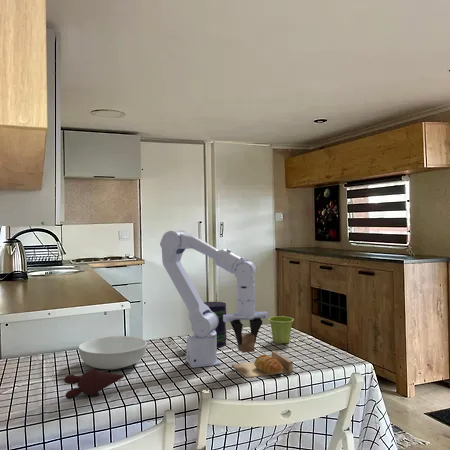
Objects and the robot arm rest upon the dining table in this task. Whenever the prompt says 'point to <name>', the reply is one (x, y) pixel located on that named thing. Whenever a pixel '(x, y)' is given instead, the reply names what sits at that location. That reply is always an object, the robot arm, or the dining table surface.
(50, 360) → the dining table surface
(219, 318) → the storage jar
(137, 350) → the serving bowl
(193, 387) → the dining table surface
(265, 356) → the pastry
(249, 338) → the walnut block
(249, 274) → the robot arm
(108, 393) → the dining table surface
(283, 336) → the plant pot
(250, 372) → the board
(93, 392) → the icecream
